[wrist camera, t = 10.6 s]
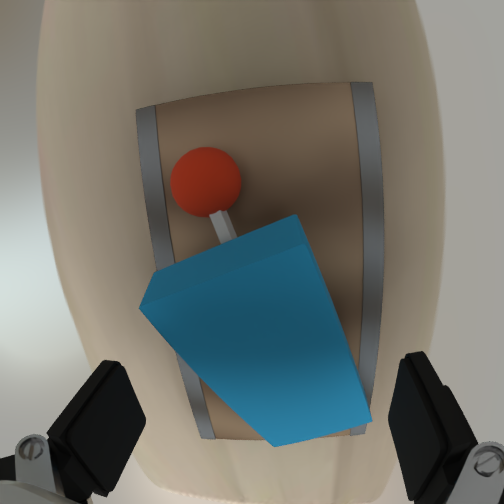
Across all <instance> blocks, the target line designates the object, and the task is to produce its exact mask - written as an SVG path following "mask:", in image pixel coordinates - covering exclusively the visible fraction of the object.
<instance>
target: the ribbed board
mask: <svg viewBox="0 0 504 504" xmlns="http://www.w3.org/2000/svg"><path fill="white" fill-rule="evenodd" d="M136 121H137V133H138V144H139V154H140V163H141V171H142V180H143V187H144V195H145V202H146V209H147V215H148V222H149V228H150V234H151V240H152V246H153V251H154V257H155V262H156V267H157V271H159V270H161V269H163V268H166V267H168V266H170V265H173V264H175V263H178V262H180V261H182V260H185V259H187V258H189V257H192V256H194V255H196V254H199V253H201V252H204V251H206V250H208V249H211V248H213V247H216V246H218V245H220V244H221V243H220V240H219V238H218V235H217V233H216V230H215V228H214V225H213V223H212V221H211V218H210V217H209V218H207V217H197V216H194V215H191V214H189V213H187V212H185V211H184V210H183V209H182V208H181V207H180V206H179V205H178V204H177V203H176V201H175V199H174V197H173V196H172V191H171V186H170V179H171V173H172V170H173V168H174V166H175V164H176V163H177V161H178V160H179V159H180V158H181V157H182V156H183V155H184V154H186V153H187V152H189V151H190V150H193V149H196V148H199V147H213V148H217V149H220V150H222V151H224V152H226V153H227V154H228V155H229V156H231V157H232V158H233V160H234V162H235V163H236V165H237V166H238V168H239V172H240V176H241V190H240V193H239V196H238V198H237V200H236V201H235V202H234V204H233V205H232V206H231V207H230V208H229V209H227V210H226V211H227V213H228V216H229V218H230V220H231V223H232V225H233V228H234V230H235V233H236V235H237V237H240V236H242V235H245V234H247V233H249V232H252V231H254V230H257V229H259V228H262V227H264V226H267V225H269V224H271V223H274V222H276V221H279V220H281V219H284V218H286V217H289V216H291V215H294V214H295V215H297V216H298V218H299V221H300V223H301V225H302V228H303V230H304V232H305V235H306V237H307V240H308V242H309V244H310V247H311V249H312V252H313V254H314V257H315V259H316V261H317V264H318V266H319V269H320V271H321V274H322V276H323V279H324V281H325V284H326V287H327V289H328V292H329V294H330V297H331V299H332V302H333V305H334V307H335V310H336V312H337V315H338V318H339V320H340V323H341V326H342V328H343V331H344V334H345V337H346V339H347V342H348V345H349V348H350V350H351V353H352V356H353V359H354V362H355V365H356V367H357V370H358V373H359V376H360V379H361V382H362V385H363V388H364V391H365V394H366V398H367V402H368V405H369V409H370V404H371V398H372V392H373V385H374V378H375V371H376V363H377V355H378V346H379V336H380V325H381V313H382V297H383V277H384V198H383V177H382V162H381V150H380V139H379V129H378V120H377V112H376V105H375V97H374V91H373V84H372V82H346V83H309V84H292V85H279V86H268V87H259V88H250V89H242V90H235V91H228V92H221V93H215V94H209V95H203V96H197V97H192V98H187V99H182V100H177V101H172V102H168V103H163V104H159V105H153V106H149V107H145V108H141V109H137V110H136ZM175 352H176V351H175ZM176 356H177V359H178V363H179V367H180V371H181V374H182V378H183V381H184V385H185V388H186V392H187V395H188V398H189V402H190V405H191V408H192V412H193V415H194V418H195V421H196V424H197V427H198V430H199V433H200V436H201V438H202V439H233V440H265V439H264V438H263V437H262V436H261V435H260V434H258V433H257V432H256V431H255V430H254V429H253V428H252V427H251V426H249V425H248V424H247V423H246V422H245V421H244V420H243V419H242V418H241V417H240V416H239V415H238V414H237V413H235V412H234V411H233V410H232V409H231V408H230V407H229V406H228V405H227V404H226V403H225V402H224V401H223V400H222V399H221V398H220V397H219V396H218V395H217V394H216V393H215V392H214V391H213V390H212V389H211V388H210V387H209V386H208V385H207V384H206V383H205V382H204V381H203V380H202V379H201V378H200V377H199V376H198V375H197V374H196V373H195V372H194V371H193V370H192V368H191V367H190V366H189V365H188V364H187V363H186V362H185V361H184V360H183V359H182V358H181V357H180V356H179V354H178V353H177V352H176ZM366 426H367V423H366V424H363V425H360V426H357V427H353V428H350V429H347V430H343V431H340V432H336V433H333V434H329V435H326V436H322V437H318V438H324V437H335V436H345V435H350V436H352V435H360V434H365V431H366Z"/></svg>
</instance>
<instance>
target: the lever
mask: <svg viewBox="0 0 504 504" xmlns="http://www.w3.org/2000/svg"><path fill="white" fill-rule="evenodd" d="M170 186H171V191H172V196H173V197H174V199H175V201H176V203H177V204H178V205H179V206H180V207H181V208H182V209H183V210H184V211H185V212H187V213H189V214H191V215H194V216H197V217H207V218H209V217H210V218H211V221H212V223H213V225H214V228H215V230H216V233H217V235H218V238H219V240H220V243H221V244H220V245H218V246H216V247H213V248H211V249H208V250H206V251H204V252H201V253H199V254H196V255H194V256H192V257H189V258H187V259H185V260H182V261H180V262H178V263H175V264H173V265H170V266H168V267H166V268H163V269H161V270H159V271H156V272H154V274H153V276H152V279H151V281H150V283H149V286H148V288H147V290H146V292H145V295H144V297H143V299H142V302H141V304H140V306H139V309H140V310H141V312H142V313H143V314H144V315H145V316H146V318H147V319H148V320H149V321H150V322H151V324H152V325H153V326H154V327H155V328H156V329H157V331H158V332H159V333H160V334H161V335H162V336H163V338H164V339H165V340H166V341H167V342H168V343H169V344H170V346H171V347H172V348H173V349H174V350H175V351H176V352H177V353H178V354H179V356H180V357H181V358H182V359H183V360H184V361H185V362H186V363H187V364H188V365H189V366H190V367H191V368H192V370H193V371H194V372H195V373H196V374H197V375H198V376H199V377H200V378H201V379H202V380H203V381H204V382H205V383H206V384H207V385H208V386H209V387H210V388H211V389H212V390H213V391H214V392H215V393H216V394H217V395H218V396H219V397H220V398H221V399H222V400H223V401H224V402H225V403H226V404H227V405H228V406H229V407H230V408H231V409H232V410H233V411H234V412H235V413H237V414H238V415H239V416H240V417H241V418H242V419H243V420H244V421H245V422H246V423H247V424H248V425H249V426H251V427H252V428H253V429H254V430H255V431H256V432H257V433H258V434H260V435H261V436H262V437H263V438H264V439H265V440H266V441H268V442H269V443H270V444H271V445H272V446H273V447H277V446H282V445H287V444H292V443H297V442H301V441H305V440H310V439H314V438H318V437H322V436H326V435H329V434H333V433H336V432H340V431H343V430H347V429H350V428H353V427H357V426H360V425H363V424H366V423H369V422H372V417H371V413H370V409H369V405H368V402H367V398H366V394H365V391H364V388H363V385H362V382H361V379H360V376H359V373H358V370H357V367H356V365H355V362H354V359H353V356H352V353H351V350H350V348H349V345H348V342H347V339H346V337H345V334H344V331H343V328H342V326H341V323H340V320H339V318H338V315H337V312H336V310H335V307H334V305H333V302H332V299H331V297H330V294H329V292H328V289H327V287H326V284H325V281H324V279H323V276H322V274H321V271H320V269H319V266H318V264H317V261H316V259H315V257H314V254H313V252H312V249H311V247H310V244H309V242H308V240H307V237H306V235H305V232H304V230H303V228H302V225H301V223H300V221H299V218H298V216H297V215H295V214H294V215H291V216H289V217H286V218H284V219H281V220H279V221H276V222H274V223H271V224H269V225H267V226H264V227H262V228H259V229H257V230H254V231H252V232H249V233H247V234H245V235H242V236H240V237H237V235H236V233H235V230H234V228H233V225H232V223H231V220H230V218H229V216H228V213H227V211H226V210H227V209H229V208H230V207H231V206H232V205H233V204H234V202H235V201H236V200H237V198H238V196H239V193H240V190H241V176H240V172H239V168H238V166H237V165H236V163H235V162H234V160H233V158H232V157H231V156H229V155H228V154H227V153H226V152H224V151H222V150H220V149H217V148H213V147H199V148H196V149H193V150H190V151H189V152H187V153H186V154H184V155H183V156H182V157H181V158H180V159H179V160H178V161H177V163H176V164H175V166H174V168H173V170H172V173H171V179H170Z"/></svg>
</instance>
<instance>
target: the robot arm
mask: <svg viewBox="0 0 504 504" xmlns="http://www.w3.org/2000/svg"><path fill="white" fill-rule="evenodd" d="M388 423H389V427H390V430H391V434H392V437H393V441H394V444H395V448H396V452H397V456H398V459H399V463H400V467H401V471H402V475H403V479H404V483H405V487H406V492H407V496H408V499H409V500H410V501H413V500H414V504H504V446H503V445H502V444H499V443H497V442H490V441H489V442H483V443H481V444H478V442H477V440H476V438H475V436H474V434H473V432H472V430H471V428H470V426H469V424H468V422H467V420H466V418H465V416H464V414H463V412H462V410H461V408H460V406H459V404H458V403H457V401H456V399H455V397H454V395H453V393H452V392H451V390H450V388H449V387H448V386H446V385H444V386H443V384H442V382H441V381H440V379H439V377H438V375H437V373H436V372H435V370H434V368H433V367H432V365H431V363H430V361H429V359H428V358H427V356H426V354H425V353H424V352H423V351H420V352H414V353H408V354H406V356H405V358H404V359H401V360H400V364H399V369H398V374H397V379H396V384H395V388H394V393H393V397H392V402H391V406H390V410H389V414H388ZM145 424H146V417H145V415H144V413H143V410H142V408H141V406H140V404H139V401H138V399H137V397H136V394H135V392H134V389H133V387H132V385H131V382H130V380H129V377H128V375H127V372H126V370H125V368H124V366H122V365H121V363H120V362H118V361H110V360H103V361H102V362H101V363H100V365H99V366H98V367H97V368H96V370H95V371H94V372H93V373H92V375H91V376H90V377H89V378H88V380H87V381H86V382H85V383H84V385H83V386H82V387H81V388H80V390H79V391H78V392H77V394H76V395H75V396H74V397H73V399H72V400H71V401H70V402H69V404H68V405H67V406H66V408H65V409H64V410H63V412H62V413H61V414H60V415H59V417H58V418H57V419H56V421H55V422H54V423H53V425H52V426H51V427H50V429H49V430H48V431H47V434H48V436H49V438H48V439H47V440H46V439H45V438H44V437H43V436H41V435H36V434H33V435H29V436H26V437H24V438H23V439H21V440H20V441H19V443H18V444H17V446H16V449H15V455H11V456H8V457H4V458H0V504H93V502H92V499H91V494H92V492H94V493H95V494H98V495H101V496H104V497H107V496H108V493H109V492H111V491H113V490H114V488H115V486H116V484H117V482H118V480H119V478H120V476H121V474H122V472H123V470H124V467H125V465H126V463H127V461H128V459H129V457H130V455H131V453H132V451H133V449H134V447H135V445H136V443H137V441H138V439H139V437H140V435H141V433H142V431H143V429H144V427H145Z"/></svg>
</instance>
